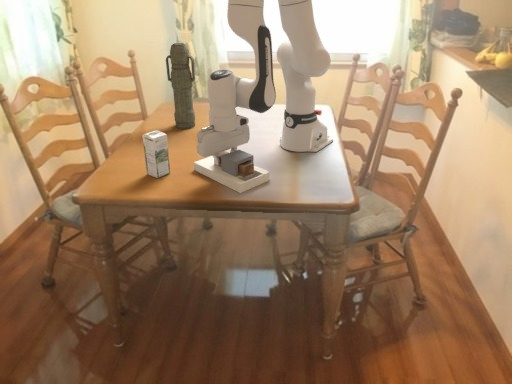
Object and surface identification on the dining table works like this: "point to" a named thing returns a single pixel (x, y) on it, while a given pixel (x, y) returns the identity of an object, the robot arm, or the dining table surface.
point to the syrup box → (156, 153)
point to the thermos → (182, 85)
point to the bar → (240, 166)
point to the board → (232, 171)
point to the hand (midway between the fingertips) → (224, 161)
